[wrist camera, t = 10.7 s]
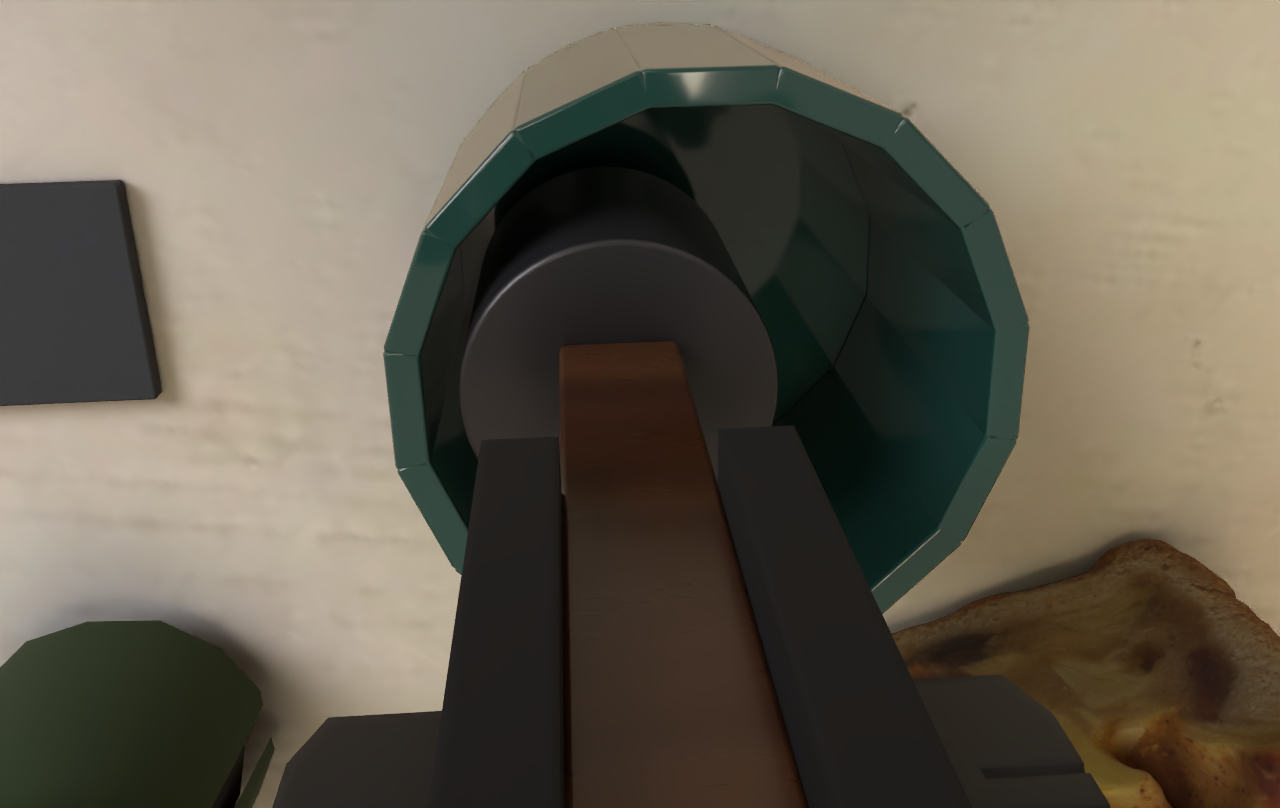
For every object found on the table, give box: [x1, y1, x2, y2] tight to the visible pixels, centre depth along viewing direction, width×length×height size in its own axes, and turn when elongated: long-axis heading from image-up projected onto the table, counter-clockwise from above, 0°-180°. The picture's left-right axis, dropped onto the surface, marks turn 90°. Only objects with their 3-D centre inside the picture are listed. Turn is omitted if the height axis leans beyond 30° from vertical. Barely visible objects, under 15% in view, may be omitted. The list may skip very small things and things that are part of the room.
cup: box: [383, 23, 1029, 614], centre depth 21 cm, size 9×9×8 cm
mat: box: [0, 180, 161, 406], centre depth 23 cm, size 4×4×1 cm
